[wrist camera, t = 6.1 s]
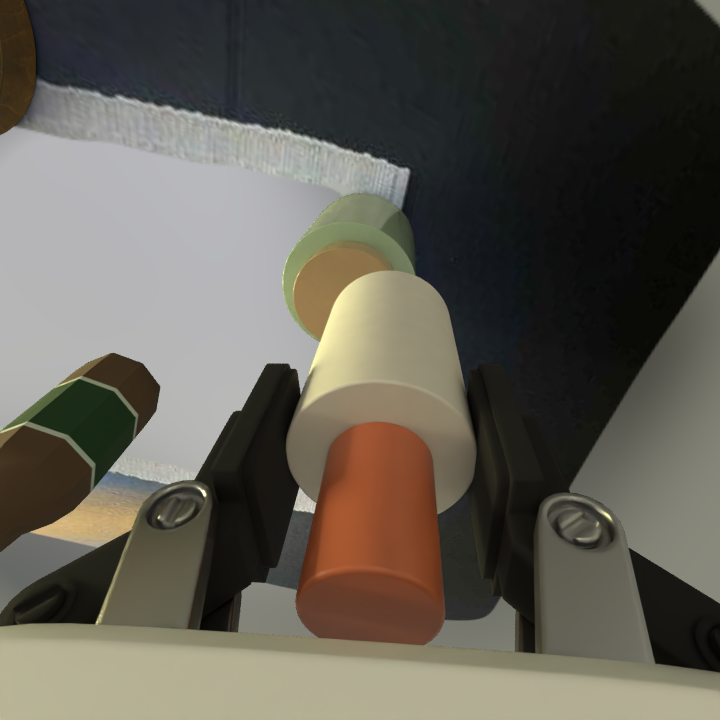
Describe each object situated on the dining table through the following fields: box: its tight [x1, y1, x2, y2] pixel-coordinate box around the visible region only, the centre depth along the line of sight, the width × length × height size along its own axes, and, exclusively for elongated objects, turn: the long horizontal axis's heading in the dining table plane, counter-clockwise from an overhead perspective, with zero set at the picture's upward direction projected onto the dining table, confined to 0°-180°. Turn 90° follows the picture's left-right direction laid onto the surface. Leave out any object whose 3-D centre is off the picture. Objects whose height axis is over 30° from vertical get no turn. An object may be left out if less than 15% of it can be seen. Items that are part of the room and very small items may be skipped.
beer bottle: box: [0, 353, 160, 552], centre depth 32 cm, size 8×8×24 cm
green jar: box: [282, 193, 416, 342], centre depth 29 cm, size 8×8×10 cm
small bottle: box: [286, 271, 477, 645], centre depth 11 cm, size 4×4×10 cm
